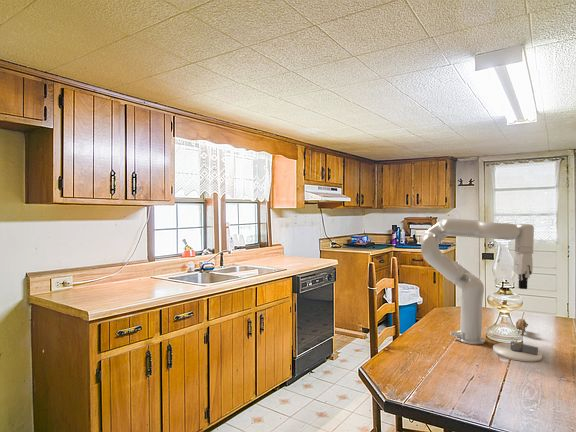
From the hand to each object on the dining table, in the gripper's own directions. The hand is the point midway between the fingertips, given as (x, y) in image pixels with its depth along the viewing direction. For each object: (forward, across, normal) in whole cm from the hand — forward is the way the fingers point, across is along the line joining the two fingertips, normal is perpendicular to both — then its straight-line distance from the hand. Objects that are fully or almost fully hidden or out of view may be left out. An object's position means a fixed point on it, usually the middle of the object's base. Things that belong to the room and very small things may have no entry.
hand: (522, 288), depth 189 cm
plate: (+27, +13, -7) cm, 31 cm away
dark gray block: (+25, +14, -5) cm, 30 cm away
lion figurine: (+27, -19, +8) cm, 34 cm away
